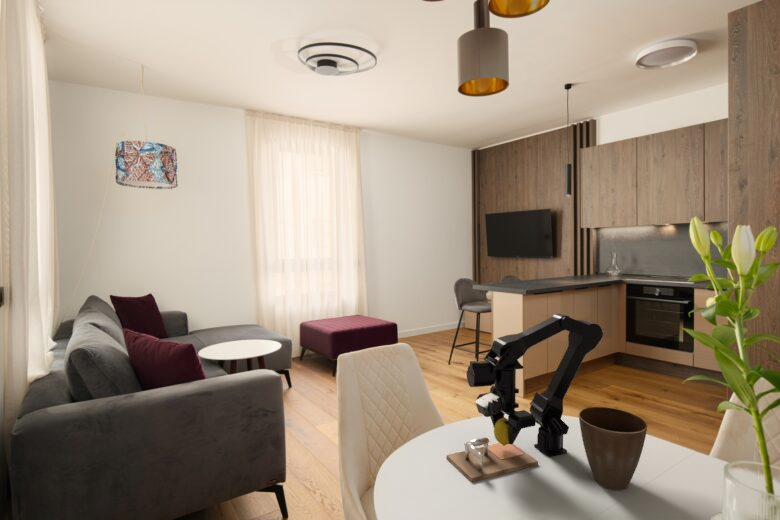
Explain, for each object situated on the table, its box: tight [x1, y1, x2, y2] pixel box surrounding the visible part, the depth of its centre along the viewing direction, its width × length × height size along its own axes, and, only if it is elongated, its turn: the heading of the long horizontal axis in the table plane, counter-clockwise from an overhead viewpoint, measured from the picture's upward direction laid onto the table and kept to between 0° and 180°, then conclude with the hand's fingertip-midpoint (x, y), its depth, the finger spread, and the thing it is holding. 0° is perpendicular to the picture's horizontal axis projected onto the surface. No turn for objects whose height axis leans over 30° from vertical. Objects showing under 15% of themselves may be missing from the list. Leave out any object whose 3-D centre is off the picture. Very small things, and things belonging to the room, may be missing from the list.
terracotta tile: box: [488, 442, 524, 460], centre depth 117 cm, size 8×8×1 cm
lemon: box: [493, 416, 509, 446], centre depth 117 cm, size 6×6×8 cm
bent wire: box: [464, 437, 490, 472], centre depth 111 cm, size 8×8×5 cm
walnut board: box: [446, 443, 539, 483], centre depth 113 cm, size 21×12×1 cm, turn 113°
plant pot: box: [578, 406, 648, 491], centre depth 104 cm, size 15×15×16 cm
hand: (504, 439), depth 117 cm, fingers closed on lemon, 5 cm apart
